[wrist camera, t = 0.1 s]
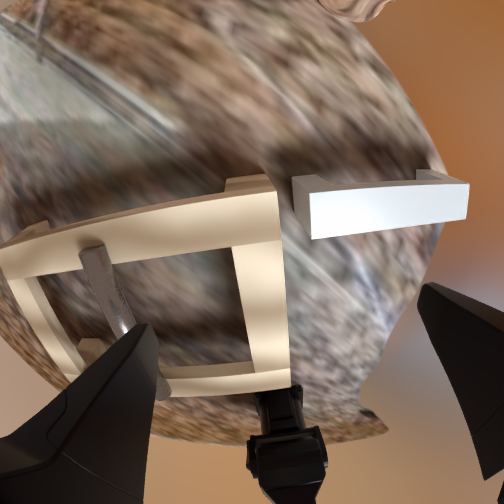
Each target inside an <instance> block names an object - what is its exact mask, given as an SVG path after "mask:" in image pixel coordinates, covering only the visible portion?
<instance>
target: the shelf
mask: <svg viewBox="0 0 504 504" xmlns="http://www.w3.org/2000/svg"><path fill="white" fill-rule="evenodd" d="M102 244H105V246H106V249H107V252H108V255H109V257H110V260H111V263H112V264H117V263H124V262H130V261H137V260H144V259H150V258H157V257H164V256H171V255H178V254H184V253H191V252H198V251H205V250H212V249H219V248H226V247H232V253H233V258H234V264H235V270H236V275H237V281H238V286H239V292H240V297H241V302H242V308H243V313H244V318H245V323H246V329H247V334H248V339H249V344H250V349H251V354H252V359H253V361H246V362H236V363H226V364H215V365H202V366H185V367H159V368H160V370H161V372H162V374H163V375H164V377H165V379H166V381H167V382H168V384H169V386H170V387H171V390H172V393H171V395H170V397H192V396H215V395H229V394H240V393H250V392H259V391H267V390H274V389H281V388H287V387H291V378H290V357H289V339H288V322H287V307H286V292H285V279H284V266H283V254H282V242H281V231H280V220H279V210H278V200H277V191H276V189H275V188H274V186H273V185H272V183H271V181H270V180H269V178H268V177H267V175H266V174H265V173H264V174H256V175H249V176H241V177H234V178H228V179H226V185H225V191H224V192H222V193H216V194H210V195H204V196H198V197H192V198H186V199H181V200H175V201H170V202H165V203H159V204H154V205H149V206H145V207H140V208H135V209H130V210H126V211H121V212H117V213H113V214H108V215H104V216H100V217H96V218H92V219H88V220H84V221H80V222H76V223H72V224H68V225H65V226H61V227H57V228H54V229H50V226H49V223H48V220H45V221H42V222H39V223H36V224H33V225H30V226H28V227H27V228H25V229H24V230H22V231H21V232H20V233H18V234H17V235H15V236H14V237H13V238H11V239H10V240H8V241H7V242H6V243H4V244H3V245H2V246H1V247H0V266H1V268H2V271H3V273H4V275H5V277H6V280H7V282H8V284H9V286H10V288H11V290H12V292H13V294H14V296H15V298H16V300H17V302H18V304H19V306H20V308H21V309H22V311H23V313H24V315H25V316H26V318H27V320H28V322H29V323H30V325H31V327H32V328H33V330H34V332H35V333H36V335H37V336H38V338H39V340H40V341H41V343H42V344H43V346H44V347H45V349H46V350H47V351H48V353H49V354H50V356H51V357H52V359H53V360H54V361H55V363H56V364H57V365H58V367H59V368H60V369H61V371H62V372H63V373H64V375H65V376H66V377H67V379H68V380H69V381H70V382H71V383H72V382H73V381H74V380H75V379H76V378H77V377H78V376H79V375H80V374H81V373H82V372H83V371H85V370H86V369H87V368H88V367H89V366H90V365H91V364H92V363H93V362H94V361H96V360H97V359H98V358H99V357H100V356H101V355H102V354H103V353H104V352H105V351H107V349H106V348H105V346H104V344H103V343H102V341H101V339H100V338H82V339H81V341H80V343H79V344H78V346H77V348H76V349H75V347H74V345H73V344H72V342H71V341H70V339H69V337H68V336H67V334H66V333H65V331H64V329H63V327H62V326H61V324H60V322H59V321H58V319H57V317H56V315H55V313H54V312H53V310H52V308H51V306H50V304H49V302H48V300H47V298H46V296H45V294H44V292H43V290H42V288H41V286H40V284H39V282H38V280H37V277H36V276H40V275H46V274H52V273H59V272H65V271H71V270H78V269H83V266H82V264H81V261H80V259H79V256H78V253H79V252H80V251H81V250H82V249H84V248H86V247H91V246H97V245H102Z"/></svg>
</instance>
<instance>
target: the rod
mask: <svg viewBox="0 0 504 504" xmlns="http://www.w3.org/2000/svg"><path fill="white" fill-rule="evenodd" d="M78 256H79V259H80V261H81V264H82V266H83V269H84V271H85V274H86V276H87V278H88V281H89V283H90V285H91V288H92V290H93V292H94V294H95V296H96V299H97V301H98V303H99V305H100V307H101V309H102V311H103V313H104V315H105V317H106V319H107V321H108V323H109V325H110V327H111V329H112V331H113V333H114V334H115V336H116V338H117V340H119V339H120V338H121V337H122V336H123V335H124V334H125V333H127V332H128V331H129V330H130V329H131V328H132V327H133V326H134V325H136V324H137V323H136V321H135V319H134V316H133V314H132V312H131V310H130V308H129V305H128V303H127V301H126V298H125V296H124V294H123V291H122V289H121V286H120V284H119V281H118V279H117V276H116V274H115V271H114V268H113V266H112V263H111V260H110V257H109V255H108V252H107V249H106V246H105V244H102V245H97V246H91V247H86V248H84V249H82V250H81V251H80V252H79V253H78ZM171 393H172V390H171V387H170V386H169V384H168V382H167V381H166V379H165V377H164V375H163V374H162V372H161V370H160V368H159V366H158V374H157V389H156V396H155V399H156V400H158V401H163V400H166V399H168V398H169V397H170V395H171Z"/></svg>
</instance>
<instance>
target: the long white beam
mask: <svg viewBox="0 0 504 504" xmlns="http://www.w3.org/2000/svg"><path fill="white" fill-rule="evenodd" d="M291 179H292V190H293V202H294V213H295V214H296V216H297V217H298V219H299V220H300V222H301V224H302V225H303V227H304V228H305V230H306V231H307V233H308V234H309V236H310V238H311V239H319V238H326V237H333V236H341V235H348V234H356V233H363V232H370V231H378V230H385V229H393V228H401V227H408V226H416V225H423V224H431V223H439V222H446V221H454V220H461V219H466V213H467V205H468V196H469V185H470V184H468V183H466V182H463V181H461V180H458V179H456V178H453V177H450V176H448V175H445V174H443V173H440V172H437V171H434V170H431V169H416V180H403V181H382V182H366V183H352V184H339V185H332V184H330V183H329V182H327V181H326V180H324V179H322V178H321V177H319V176H318V175H316V174H314V175H303V176H293V177H291Z"/></svg>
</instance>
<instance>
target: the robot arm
mask: <svg viewBox="0 0 504 504" xmlns="http://www.w3.org/2000/svg"><path fill="white" fill-rule="evenodd" d="M417 309H418V312H419V314H420V316H421V318H422V321H423V323H424V325H425V328H426V330H427V333H428V335H429V338H430V340H431V343H432V345H433V347H434V349H435V351H436V353H437V355H438V357H439V359H440V361H441V363H442V365H443V367H444V370H445V372H446V374H447V376H448V378H449V381H450V383H451V385H452V387H453V390H454V392H455V394H456V397H457V399H458V402H459V404H460V406H461V409H462V411H463V414H464V417H465V420H466V422H467V425H468V428H469V431H470V434H471V436H472V440H473V443H474V447H475V450H476V453H477V456H478V460H479V464H480V467H481V471H482V475H483V479H484V480H487V479H489V478H490V477H492V476H493V475H495V474H497V473H498V472H499V471H501V470H503V469H504V312H502V311H500V310H497V309H495V308H493V307H491V306H489V305H486V304H484V303H482V302H479V301H477V300H475V299H473V298H470V297H468V296H465V295H463V294H461V293H459V292H456V291H454V290H451V289H449V288H447V287H444V286H442V285H439V284H437V283H434V282H429V283H425V284H423V285H422V287H421V291H420V294H419V298H418V302H417ZM158 358H159V342H158V339H157V337H156V335H155V332H154V330H153V328H152V326H151V324H150V323H148V322H144V323H137V324H136V325H134V326H133V327H132V328H131V329H130V330H129V331H128V332H127V333H125V334H124V335H123V336H122V337H121V338H120V339H119V340H118V341H117V342H115V343H114V344H113V345H112V346H111V347H110V348H109V349H108V350H107V351H105V352H104V353H103V354H102V355H101V356H100V357H99V358H98V359H97V360H96V361H94V362H93V363H92V364H91V365H90V366H89V367H88V368H87V369H86V370H85V371H83V372H82V373H81V374H80V375H79V376H78V377H77V378H76V379H75V380H74V381H73V382H72V383H70V384H69V385H68V386H67V387H66V389H64V390H63V391H62V392H61V393H60V394H59V395H58V396H57V397H56V398H54V399H53V400H52V401H51V402H50V403H49V404H48V405H47V406H45V407H44V408H43V409H42V410H40V411H39V412H38V413H37V414H36V415H34V416H33V417H32V418H31V419H29V420H28V421H27V422H25V423H24V424H23V425H22V426H20V427H19V428H18V429H17V430H15V431H14V432H13V433H11V434H10V435H8V436H5V437H3V438H0V504H143V498H144V484H145V473H146V463H147V454H148V445H149V437H150V429H151V422H152V415H153V409H154V402H155V396H156V389H157V374H158ZM254 399H255V404H256V408H257V412H258V416H260V420H261V431H262V435H257V436H255V435H250V440H248V441H247V460H246V467H247V469H248V470H250V471H251V473H252V475H253V478H254V479H257V478H258V481H259V485H260V488H261V490H262V492H263V494H264V495H265V496H266V497H267V498H268V499H269V500H270V501H271V502H272V503H273V504H316V500H315V498H316V496H317V494H318V492H319V490H320V487H321V485H322V483H323V480H324V478H325V475H326V472H325V468H327V467H328V457H327V451H326V447H325V444H324V441H323V438H322V435H321V432H320V429H319V426H314V427H311V428H306V427H305V422H304V417H303V412H302V408H303V388H302V386H298V387H292V388H286V389H279V390H272V391H265V392H257V393H254ZM497 501H498V504H504V482H503V485H502V488H501V491H500V494H499V497H498V500H497Z"/></svg>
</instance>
